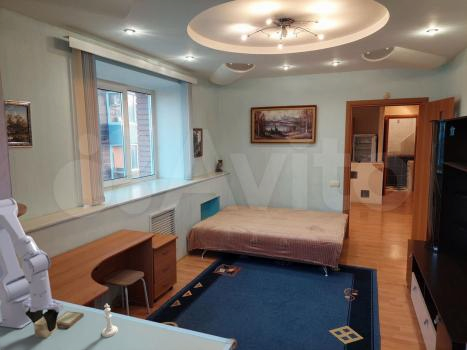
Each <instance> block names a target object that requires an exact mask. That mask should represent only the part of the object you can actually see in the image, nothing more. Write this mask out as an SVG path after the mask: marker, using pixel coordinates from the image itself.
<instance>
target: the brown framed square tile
mask: <svg viewBox="0 0 467 350" xmlns="http://www.w3.org/2000/svg"><path fill="white" fill-rule="evenodd" d="M84 317H85V314H84V312H79V311H77V312H76V311H65V312H64V313H63V314H62V315H60V316H59V317H57V321H56V322H57V328H59V327H60V328H67V329H70V328H72V327H73V326H74V325H75V324H76V323H78V322H79V321H80V320H81V319H82V318H84Z"/></svg>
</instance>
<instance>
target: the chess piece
mask: <svg viewBox="0 0 467 350" xmlns="http://www.w3.org/2000/svg"><path fill="white" fill-rule="evenodd" d="M110 306H111V305H109V304H108V303H105V305H104V306H103V307H104V308H105V309H103V312H104V314H105V316H104V319H105V320H106V327H105V328H104V329H103V330H102V331H101V335H102V337H105V338H109V337H112V336H114V335H117V333H118V331H119V329H118V326H116V325H113V324H112V320H111V318H112V316H113V315H112V314H111V308H110Z"/></svg>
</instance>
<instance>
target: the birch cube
mask: <svg viewBox="0 0 467 350" xmlns="http://www.w3.org/2000/svg"><path fill="white" fill-rule="evenodd" d="M33 329H34V333H35V335H34V336H35V337H36V338H37V337H39V338H45V339H46V338H47V339H48V338H49V337H50V336H52V334H53V333H55V332H56V331H58V327H57V322H56V328H55V329H54V330H52V331H51V332H50V331H49V330H48V327H47V323H46V320H45V319H44V317H42V318H41V319H40V320H38V321H37V322H35V323H34V324H33Z"/></svg>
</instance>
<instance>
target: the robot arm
mask: <svg viewBox="0 0 467 350" xmlns="http://www.w3.org/2000/svg"><path fill="white" fill-rule="evenodd" d="M18 213H19V207H18V203H17V201H16V199H14V198H13V197H9V198H6V199H0V266H1V270H2V272H3V274H2V276H1V277H0V301H1V303H0V316H1V322H2V323H1V324H0V326H1V327H7V328H12V329H13V328H14V329H23V328H25V327H26V326H27V325H29V324H30V323H33V325H34V323H35V322H37V321H38V320H40V319H41V318H42V317H44V319H45V320H46V323H47V327H48V330H49V331H50V332H51V331H52V330H54V329H55V328H56V321H57V319H58V318H59V317H58V315H59V313H60V312H62V311H63V310H64V304H63V303H60V302H58V301H57V300H54V299H53V297H52V289H51V284H50V278H49V277H50V276H49V271H48V270H49V269H50V268H51V265H52V263H51V259H50V257H49V254H47V252H45V251H44V250H42V249H40V248H39V247H38V245H37V243H36V242H35V239H33V237H32V236H30V235H27V234H26V233H25V230H24V229H23V226H22V224H21V223H20V220H19V218H18ZM12 240H13V242H12ZM17 256H18V257H17ZM18 258H19V259H20V261H21V262H22V263H21V266H20V263H19V260H18ZM45 310H46V311H45ZM44 311H45V312H44ZM43 312H44V313H43Z"/></svg>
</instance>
